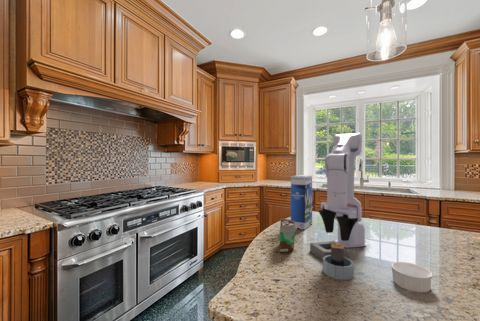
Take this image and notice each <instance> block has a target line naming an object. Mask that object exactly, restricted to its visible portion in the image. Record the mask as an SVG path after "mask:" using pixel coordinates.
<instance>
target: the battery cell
mask: <svg viewBox="0 0 480 321" xmlns="http://www.w3.org/2000/svg"><path fill="white" fill-rule="evenodd" d="M332 242H333V243H331V264H333V265H336V266H344V248H345V247H344V244H342V243H337V242H334V241H332Z"/></svg>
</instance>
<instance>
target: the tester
mask: <svg viewBox="0 0 480 321" xmlns="http://www.w3.org/2000/svg"><path fill="white" fill-rule="evenodd" d="M333 242H334V241H333V240H330V241H320V242H318V241H317V242H310V243H309V247H310V248H309V251H310V252H311V253H312V254H313V255H315V256H316V257H317V258H319V259H320V260H322V261H323V257H325V256H327V255H331V243H333ZM344 257H346V258H348V259H349V249H348V248H345V247H344Z"/></svg>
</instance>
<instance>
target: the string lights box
mask: <svg viewBox="0 0 480 321" xmlns="http://www.w3.org/2000/svg"><path fill="white" fill-rule="evenodd" d="M290 220H292V221H294V222H295V223H296V226H297V228H299V229H298V230H303V229H305V230H307V229H308V228H309V227H310V226H312V225H313V175H309V174H308V175H305V174H298V175H290ZM311 224H312V225H311ZM308 226H309V227H308ZM307 227H308V228H307Z"/></svg>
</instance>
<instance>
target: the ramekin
mask: <svg viewBox="0 0 480 321" xmlns="http://www.w3.org/2000/svg"><path fill="white" fill-rule="evenodd" d="M390 267H391V270H392V280H393V282H394V283H395V284H396V285H397V286H398V287H401V288H402V289H404V290H407V291H410V292H414V293H420V294H421V293H428V292H430V290H431V288H432V285H431V284H432V279H433V272H432V271H431V270H429V269H428V268H426V267H425V266H421V265H419V264H415V263H412V262H406V261H395V262H392V263H391V266H390Z"/></svg>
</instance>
